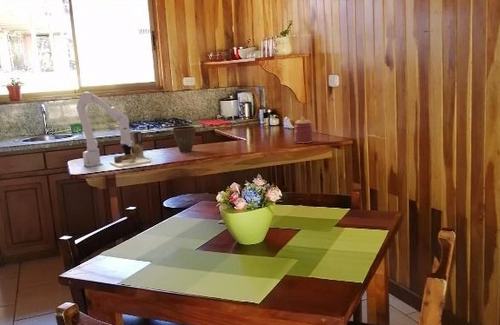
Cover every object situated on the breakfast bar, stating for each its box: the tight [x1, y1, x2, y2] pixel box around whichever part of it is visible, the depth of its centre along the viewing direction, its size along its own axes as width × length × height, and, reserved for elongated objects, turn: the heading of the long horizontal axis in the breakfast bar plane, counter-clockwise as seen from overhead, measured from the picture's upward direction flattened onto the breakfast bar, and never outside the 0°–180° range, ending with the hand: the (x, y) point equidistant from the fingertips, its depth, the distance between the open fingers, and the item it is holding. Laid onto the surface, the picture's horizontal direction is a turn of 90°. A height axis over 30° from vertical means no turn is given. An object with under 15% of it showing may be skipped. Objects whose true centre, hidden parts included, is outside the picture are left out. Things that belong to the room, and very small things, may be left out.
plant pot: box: [172, 125, 196, 153], centre depth 341 cm, size 15×15×16 cm
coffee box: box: [130, 130, 145, 158], centre depth 331 cm, size 9×6×16 cm
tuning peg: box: [113, 153, 137, 162], centre depth 314 cm, size 13×4×3 cm, turn 123°
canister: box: [293, 116, 314, 143], centre depth 351 cm, size 13×13×18 cm
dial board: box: [109, 156, 152, 168], centre depth 312 cm, size 20×16×1 cm
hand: (127, 156), depth 318 cm, fingers closed
